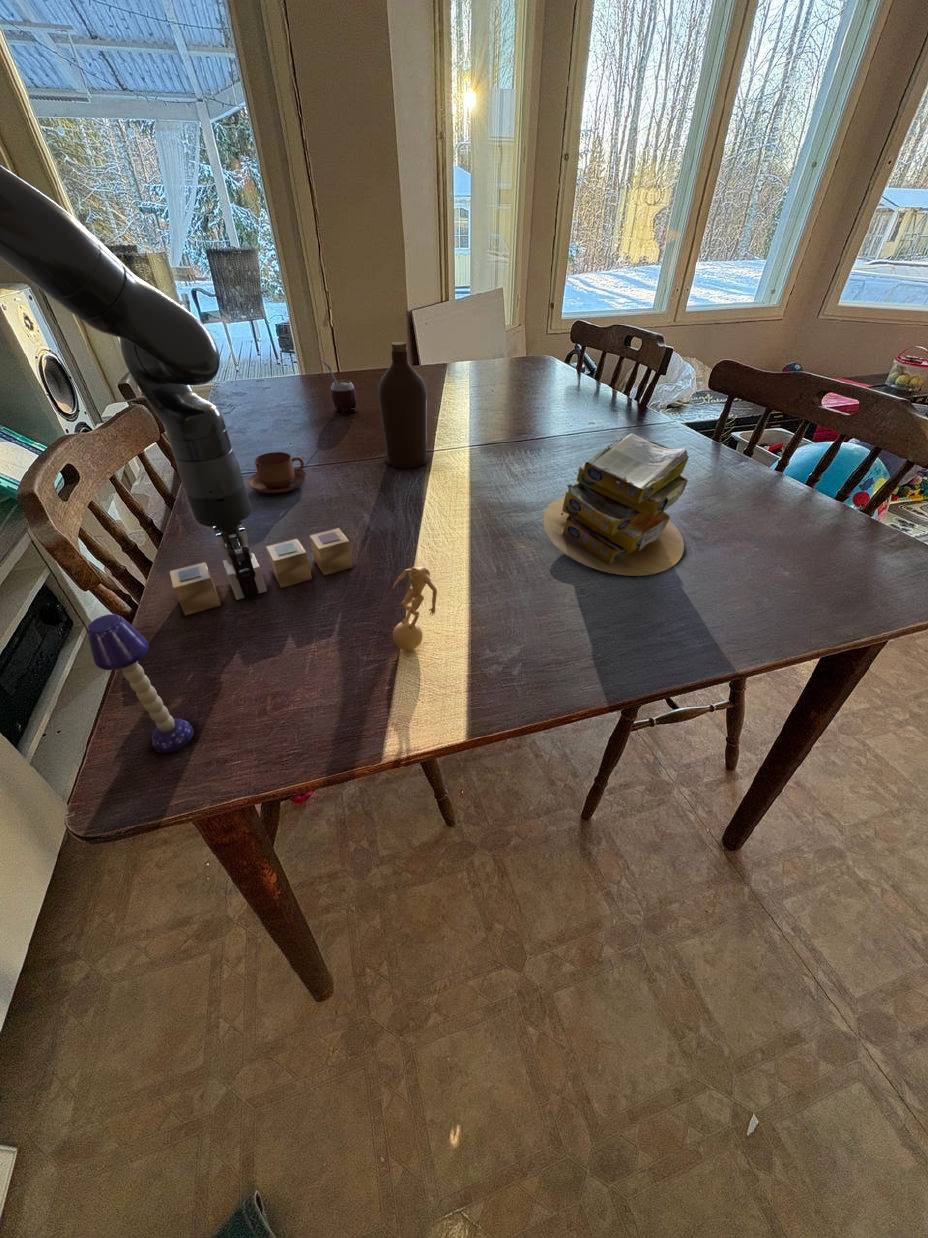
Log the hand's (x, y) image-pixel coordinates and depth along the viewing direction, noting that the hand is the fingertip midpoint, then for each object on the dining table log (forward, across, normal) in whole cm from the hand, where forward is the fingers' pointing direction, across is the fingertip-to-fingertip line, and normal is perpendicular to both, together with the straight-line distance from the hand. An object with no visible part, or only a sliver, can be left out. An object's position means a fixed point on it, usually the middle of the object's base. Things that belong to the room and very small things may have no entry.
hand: (247, 586), depth 80 cm
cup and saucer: (+1, -36, +14) cm, 39 cm away
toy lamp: (+1, +26, -14) cm, 29 cm away
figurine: (+1, +25, +17) cm, 30 cm away
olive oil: (+1, -35, +44) cm, 56 cm away
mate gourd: (+1, -79, +44) cm, 90 cm away
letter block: (0, 0, 0) cm, 0 cm away
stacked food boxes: (+1, +17, +60) cm, 62 cm away
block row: (0, 0, +3) cm, 4 cm away
